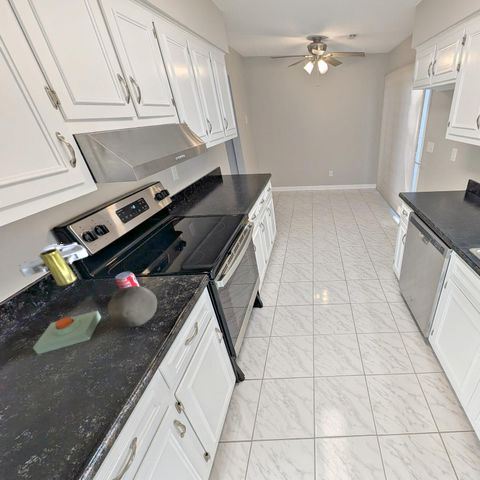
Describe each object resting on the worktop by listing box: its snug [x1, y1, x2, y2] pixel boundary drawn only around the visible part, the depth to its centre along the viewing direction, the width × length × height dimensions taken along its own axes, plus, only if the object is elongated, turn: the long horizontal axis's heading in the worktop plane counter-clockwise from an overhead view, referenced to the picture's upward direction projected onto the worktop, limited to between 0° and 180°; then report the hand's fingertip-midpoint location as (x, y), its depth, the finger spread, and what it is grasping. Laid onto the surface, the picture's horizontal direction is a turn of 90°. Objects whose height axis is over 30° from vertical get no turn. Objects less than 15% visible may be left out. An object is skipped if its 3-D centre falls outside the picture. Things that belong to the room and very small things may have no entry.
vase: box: [40, 249, 77, 287], centre depth 102 cm, size 6×6×14 cm
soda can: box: [115, 271, 140, 291], centre depth 104 cm, size 6×6×12 cm
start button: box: [55, 316, 73, 329], centre depth 88 cm, size 4×4×2 cm
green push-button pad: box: [32, 310, 102, 355], centre depth 89 cm, size 14×12×5 cm
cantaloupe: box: [107, 285, 158, 329], centre depth 90 cm, size 14×14×15 cm
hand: (57, 266), depth 101 cm, fingers closed on vase, 5 cm apart
